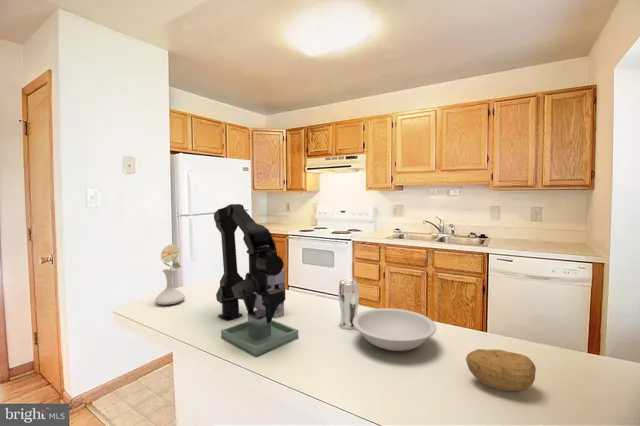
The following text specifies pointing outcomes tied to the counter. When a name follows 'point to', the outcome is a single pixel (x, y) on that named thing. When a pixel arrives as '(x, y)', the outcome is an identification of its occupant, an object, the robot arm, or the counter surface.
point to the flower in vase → (170, 277)
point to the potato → (502, 369)
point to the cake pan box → (275, 283)
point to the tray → (256, 348)
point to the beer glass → (348, 302)
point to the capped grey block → (258, 325)
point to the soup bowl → (394, 328)
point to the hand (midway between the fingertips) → (259, 319)
